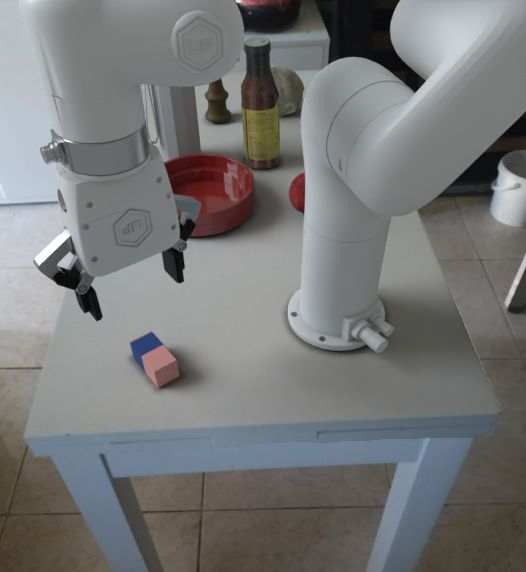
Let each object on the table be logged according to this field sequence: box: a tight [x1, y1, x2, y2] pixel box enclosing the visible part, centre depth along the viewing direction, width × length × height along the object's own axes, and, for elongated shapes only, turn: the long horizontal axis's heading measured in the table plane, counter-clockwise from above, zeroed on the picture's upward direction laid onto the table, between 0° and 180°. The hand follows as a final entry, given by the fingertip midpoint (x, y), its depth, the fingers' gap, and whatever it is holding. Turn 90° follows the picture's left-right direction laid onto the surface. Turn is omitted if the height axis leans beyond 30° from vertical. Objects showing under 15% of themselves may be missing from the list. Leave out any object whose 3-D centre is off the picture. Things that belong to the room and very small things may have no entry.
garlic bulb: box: [270, 65, 305, 118], centre depth 110 cm, size 9×8×10 cm
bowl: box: [164, 153, 256, 237], centre depth 90 cm, size 17×17×4 cm
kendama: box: [204, 56, 241, 124], centre depth 104 cm, size 6×10×20 cm, turn 94°
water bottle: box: [142, 85, 202, 162], centre depth 92 cm, size 9×8×25 cm
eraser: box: [129, 330, 181, 389], centre depth 68 cm, size 6×3×3 cm, turn 37°
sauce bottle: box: [240, 36, 281, 170], centre depth 94 cm, size 6×6×20 cm
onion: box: [288, 171, 305, 214], centre depth 87 cm, size 6×6×8 cm
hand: (135, 294), depth 61 cm, fingers open, 9 cm apart
